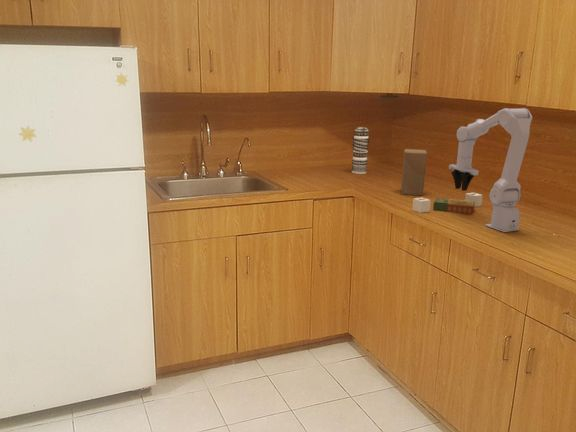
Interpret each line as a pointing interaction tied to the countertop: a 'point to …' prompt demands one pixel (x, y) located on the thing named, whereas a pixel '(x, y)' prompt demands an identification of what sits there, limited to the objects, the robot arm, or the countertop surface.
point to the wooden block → (413, 172)
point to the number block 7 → (474, 198)
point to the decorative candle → (360, 150)
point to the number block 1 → (421, 205)
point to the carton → (454, 205)
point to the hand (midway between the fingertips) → (461, 189)
